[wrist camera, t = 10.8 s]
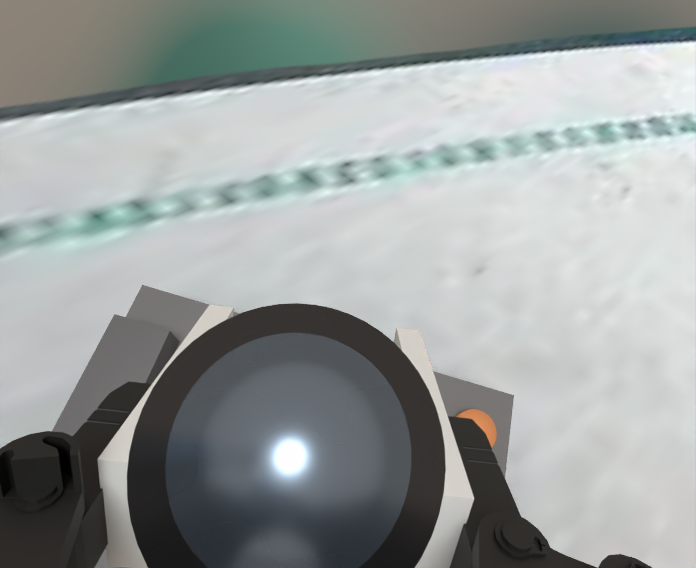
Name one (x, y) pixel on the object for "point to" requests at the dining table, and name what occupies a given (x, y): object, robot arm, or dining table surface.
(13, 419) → the dining table surface
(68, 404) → the camera body
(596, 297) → the dining table surface
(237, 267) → the dining table surface
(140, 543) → the lens
